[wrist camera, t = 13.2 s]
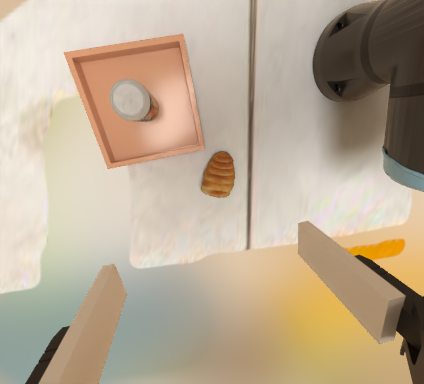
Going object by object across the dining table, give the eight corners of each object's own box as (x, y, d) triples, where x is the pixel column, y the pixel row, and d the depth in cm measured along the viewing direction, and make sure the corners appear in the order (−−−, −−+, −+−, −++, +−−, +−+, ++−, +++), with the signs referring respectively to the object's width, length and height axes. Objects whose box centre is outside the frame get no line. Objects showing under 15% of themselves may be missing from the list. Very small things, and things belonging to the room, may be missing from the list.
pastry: (207, 148, 40) (210, 150, 36) (238, 153, 41) (244, 156, 38) (199, 191, 42) (201, 197, 39) (229, 195, 44) (233, 201, 40)
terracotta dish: (182, 42, 33) (183, 33, 30) (202, 146, 39) (204, 149, 36) (75, 59, 32) (63, 52, 28) (114, 165, 38) (108, 168, 34)
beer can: (136, 124, 35) (115, 124, 24) (126, 95, 33) (99, 81, 22) (162, 118, 35) (154, 116, 24) (153, 89, 34) (141, 72, 22)
